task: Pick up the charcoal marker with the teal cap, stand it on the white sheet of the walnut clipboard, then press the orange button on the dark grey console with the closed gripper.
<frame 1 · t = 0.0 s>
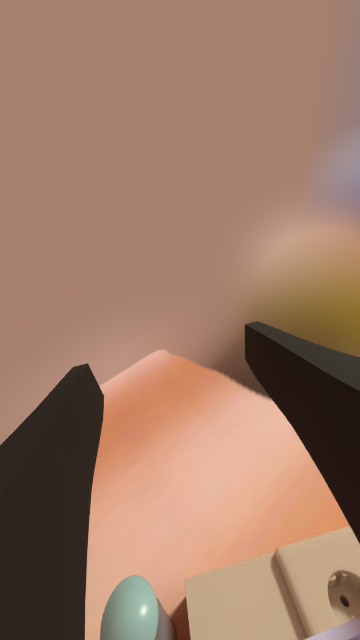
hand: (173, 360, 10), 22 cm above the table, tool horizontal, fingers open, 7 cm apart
electrical outlet: (323, 636, 15), on the table
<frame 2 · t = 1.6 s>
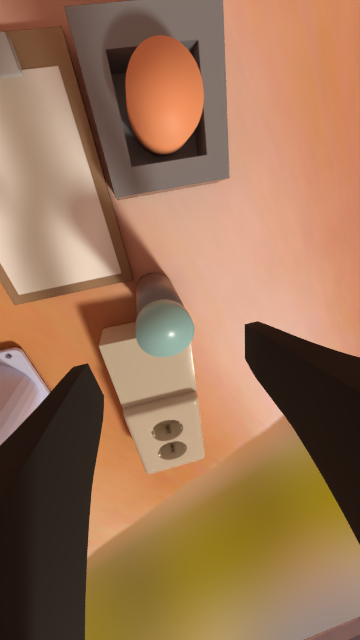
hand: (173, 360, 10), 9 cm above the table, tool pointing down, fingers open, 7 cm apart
console: (157, 125, 13), on the table
button: (163, 105, 10), point 3 cm above the table, slide at 0.0 cm
electrical outlet: (159, 386, 24), on the table
clipboard: (35, 195, 13), on the table
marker: (154, 291, 18), on the table
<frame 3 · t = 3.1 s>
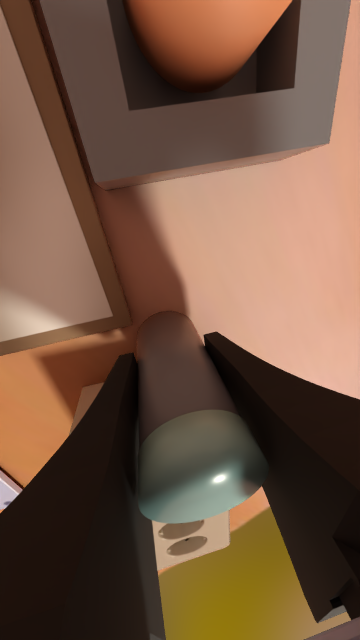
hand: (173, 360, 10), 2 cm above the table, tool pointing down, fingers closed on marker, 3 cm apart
console: (182, 36, 6), on the table
electrical outlet: (168, 450, 17), on the table
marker: (167, 338, 11), on the table, touching gripper
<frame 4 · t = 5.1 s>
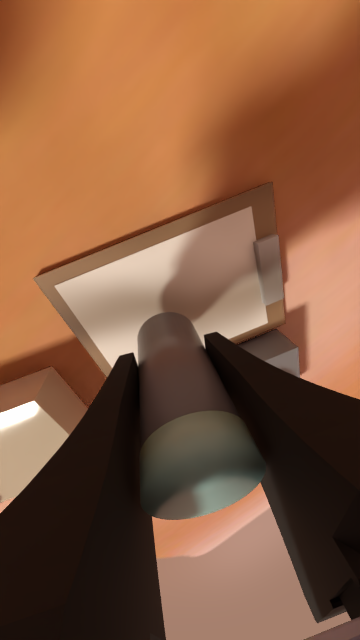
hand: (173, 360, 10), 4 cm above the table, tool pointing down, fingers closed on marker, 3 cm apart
console: (241, 377, 17), on the table
clipboard: (180, 302, 13), on the table
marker: (167, 338, 11), point 2 cm above the table, touching gripper
when the fingers open (3 cm above the table, at t = 5.8 s): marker stays where it is, resting on clipboard.
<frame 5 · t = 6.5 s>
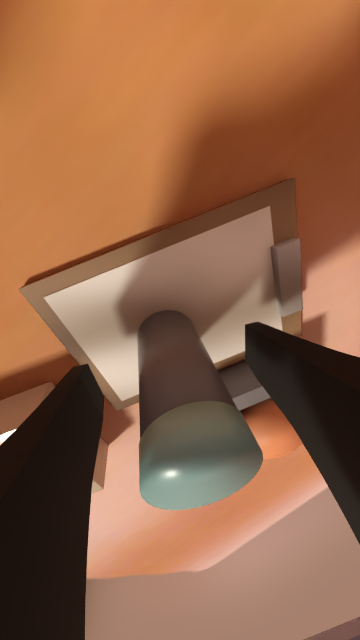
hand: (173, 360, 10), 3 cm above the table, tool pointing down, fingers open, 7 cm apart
console: (251, 392, 16), on the table
button: (271, 424, 14), point 3 cm above the table, slide at 0.0 cm
clipboard: (187, 313, 12), on the table
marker: (166, 336, 11), resting on clipboard
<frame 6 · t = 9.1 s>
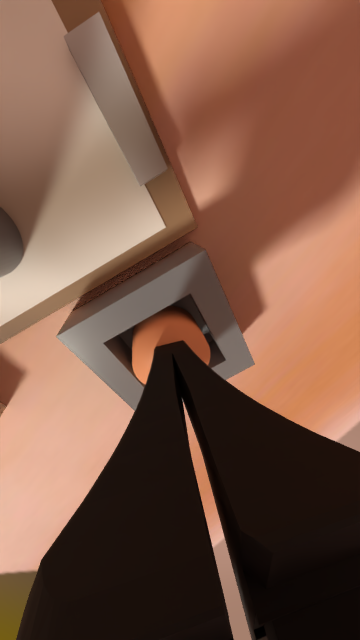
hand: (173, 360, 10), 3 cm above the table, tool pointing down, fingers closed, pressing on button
console: (164, 328, 12), on the table
button: (169, 347, 10), point 2 cm above the table, slide at 0.8 cm, touching gripper
clipboard: (1, 201, 8), on the table
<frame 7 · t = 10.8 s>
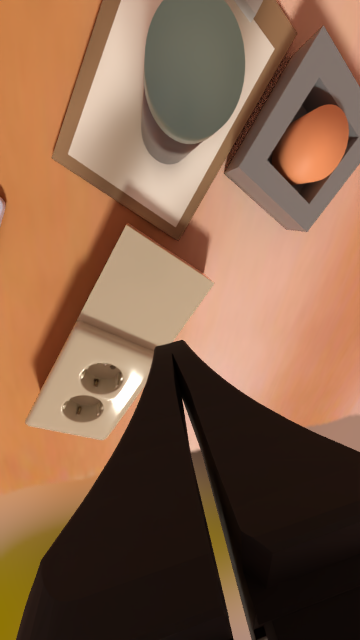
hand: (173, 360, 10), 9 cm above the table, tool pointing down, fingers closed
console: (288, 156, 15), on the table
button: (307, 150, 13), point 2 cm above the table, slide at 0.8 cm
electrical outlet: (116, 333, 19), on the table
clipboard: (171, 100, 12), on the table
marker: (167, 131, 13), point 1 cm above the table, touching clipboard
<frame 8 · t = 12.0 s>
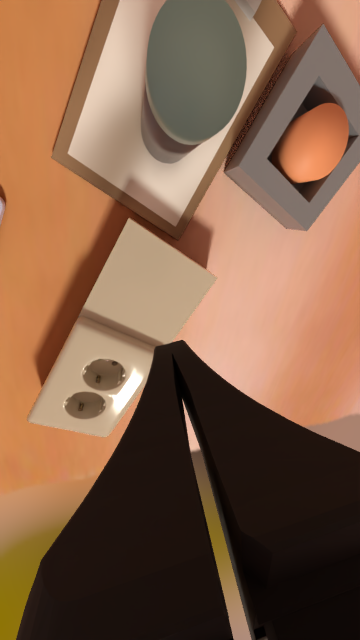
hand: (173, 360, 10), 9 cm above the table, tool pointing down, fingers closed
console: (288, 155, 15), on the table
button: (307, 149, 13), point 2 cm above the table, slide at 0.8 cm
electrical outlet: (118, 330, 19), on the table
clipboard: (170, 99, 12), on the table
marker: (167, 130, 13), point 1 cm above the table, touching clipboard
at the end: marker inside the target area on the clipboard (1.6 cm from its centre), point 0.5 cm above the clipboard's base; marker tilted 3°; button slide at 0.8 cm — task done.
